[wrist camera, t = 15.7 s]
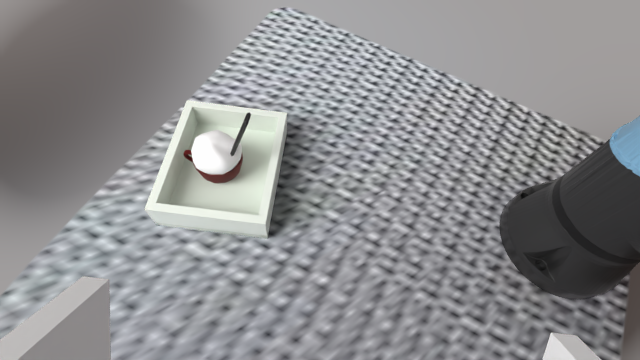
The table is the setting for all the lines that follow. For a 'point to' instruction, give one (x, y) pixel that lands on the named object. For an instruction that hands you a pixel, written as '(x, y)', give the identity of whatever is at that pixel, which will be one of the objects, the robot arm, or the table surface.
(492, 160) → the table surface
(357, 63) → the table surface
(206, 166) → the cocoa
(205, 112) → the bin
